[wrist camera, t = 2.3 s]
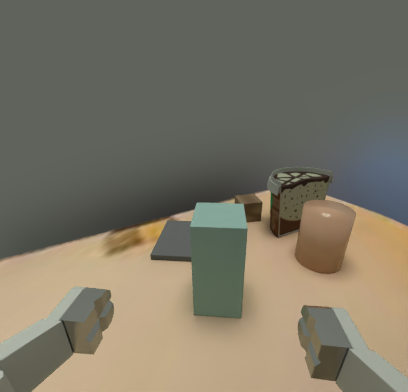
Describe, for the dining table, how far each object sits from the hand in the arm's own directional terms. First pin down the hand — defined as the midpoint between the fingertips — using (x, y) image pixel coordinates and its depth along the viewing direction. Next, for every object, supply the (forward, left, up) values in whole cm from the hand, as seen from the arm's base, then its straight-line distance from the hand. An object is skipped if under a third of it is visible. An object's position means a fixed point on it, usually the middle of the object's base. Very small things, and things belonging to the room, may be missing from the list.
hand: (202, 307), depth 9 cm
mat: (+5, -23, -13) cm, 27 cm away
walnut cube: (-5, -32, -13) cm, 35 cm away
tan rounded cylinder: (-14, -20, -13) cm, 28 cm away
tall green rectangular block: (0, -12, -13) cm, 18 cm away
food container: (-12, -30, -13) cm, 35 cm away
